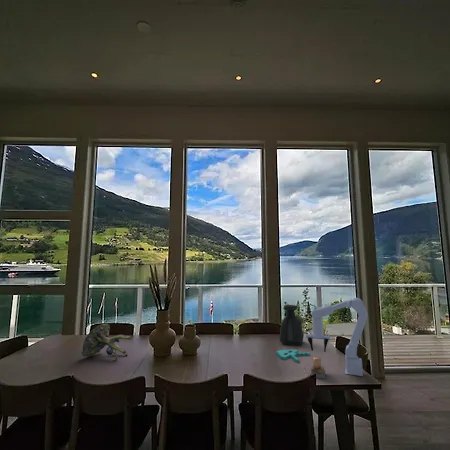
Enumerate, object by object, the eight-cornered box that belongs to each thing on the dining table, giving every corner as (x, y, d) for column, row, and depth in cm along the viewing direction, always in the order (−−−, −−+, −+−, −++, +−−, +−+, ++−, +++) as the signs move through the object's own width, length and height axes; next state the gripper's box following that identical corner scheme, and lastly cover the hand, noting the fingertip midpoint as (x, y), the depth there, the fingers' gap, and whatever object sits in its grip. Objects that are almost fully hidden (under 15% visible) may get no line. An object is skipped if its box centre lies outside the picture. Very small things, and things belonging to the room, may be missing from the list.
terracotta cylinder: (321, 366, 172) (321, 357, 173) (320, 369, 168) (320, 360, 169) (313, 365, 174) (313, 356, 174) (312, 367, 170) (312, 359, 171)
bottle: (279, 344, 238) (278, 306, 242) (283, 339, 253) (282, 304, 257) (301, 346, 231) (300, 307, 235) (304, 341, 246) (302, 305, 250)
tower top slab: (324, 370, 172) (324, 366, 173) (323, 374, 167) (322, 370, 167) (313, 369, 175) (312, 364, 176) (311, 372, 169) (311, 368, 170)
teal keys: (310, 355, 208) (284, 350, 221) (309, 352, 209) (284, 347, 221) (297, 363, 193) (271, 357, 206) (297, 359, 193) (271, 354, 206)
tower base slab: (325, 374, 173) (325, 370, 173) (324, 379, 166) (324, 375, 166) (311, 372, 176) (311, 368, 176) (310, 377, 169) (309, 373, 169)
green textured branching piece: (73, 351, 193) (125, 347, 191) (87, 318, 214) (134, 315, 213) (85, 369, 206) (134, 366, 204) (97, 337, 227) (142, 334, 226)
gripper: (329, 328, 186) (331, 350, 185) (306, 326, 192) (307, 348, 190) (329, 330, 180) (330, 353, 178) (305, 328, 185) (306, 350, 183)
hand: (318, 350), depth 184 cm, fingers open, 7 cm apart
